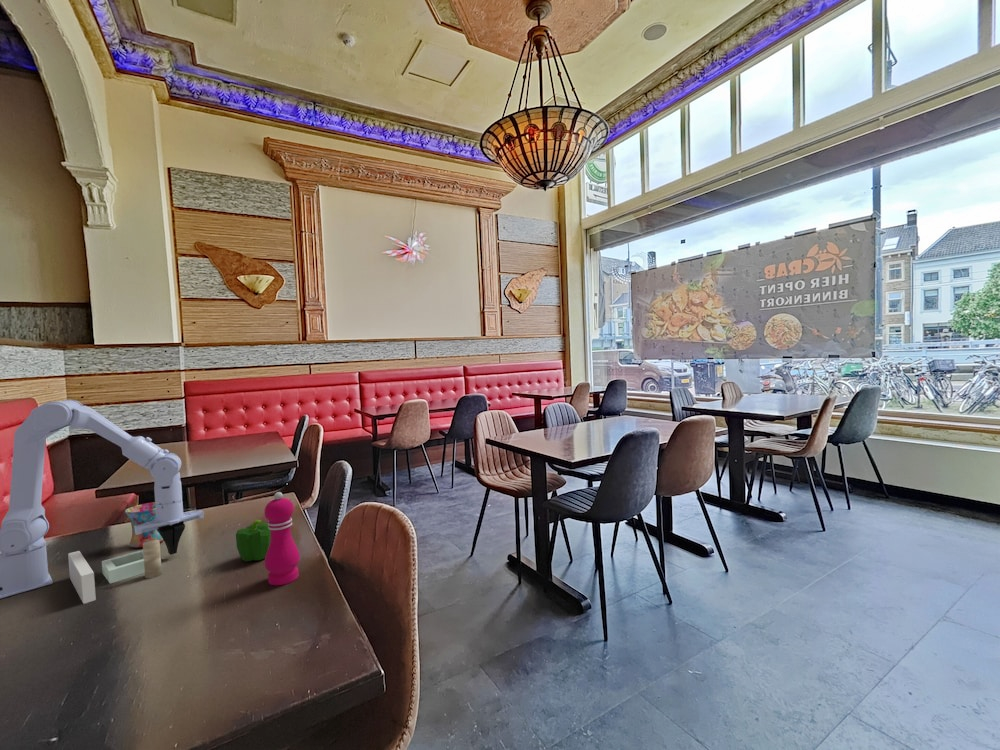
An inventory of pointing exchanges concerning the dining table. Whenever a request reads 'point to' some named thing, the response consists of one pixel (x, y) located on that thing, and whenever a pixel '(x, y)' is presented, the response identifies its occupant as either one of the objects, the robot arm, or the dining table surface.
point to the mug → (141, 516)
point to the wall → (82, 577)
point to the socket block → (123, 566)
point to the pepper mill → (281, 542)
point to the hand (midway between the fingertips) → (172, 553)
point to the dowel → (152, 558)
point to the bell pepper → (253, 541)
